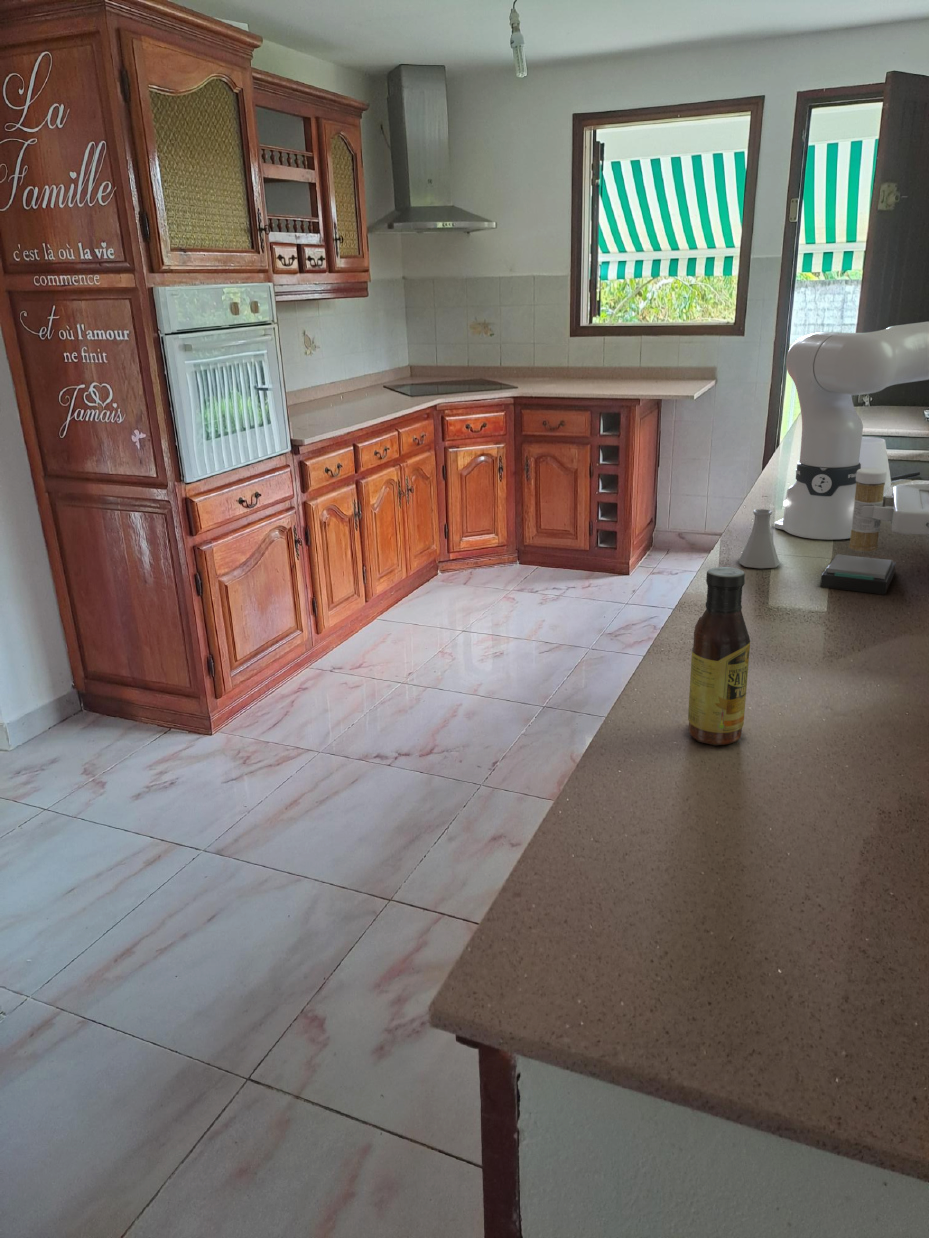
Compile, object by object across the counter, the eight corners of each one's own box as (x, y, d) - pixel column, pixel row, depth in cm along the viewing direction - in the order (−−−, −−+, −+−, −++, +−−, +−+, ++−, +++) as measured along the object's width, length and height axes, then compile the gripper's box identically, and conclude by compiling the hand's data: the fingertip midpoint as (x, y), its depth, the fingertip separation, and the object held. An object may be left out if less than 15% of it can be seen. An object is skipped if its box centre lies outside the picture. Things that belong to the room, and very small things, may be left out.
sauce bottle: (733, 753, 98) (745, 584, 91) (679, 740, 102) (687, 577, 95) (749, 728, 103) (762, 567, 97) (697, 717, 107) (706, 560, 100)
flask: (781, 570, 158) (786, 516, 155) (739, 569, 160) (743, 515, 156) (776, 558, 165) (781, 506, 161) (736, 557, 166) (740, 506, 163)
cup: (893, 496, 206) (901, 436, 201) (884, 508, 196) (892, 446, 191) (832, 491, 213) (838, 433, 208) (820, 503, 202) (826, 442, 198)
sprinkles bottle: (861, 543, 152) (870, 466, 147) (883, 549, 148) (893, 470, 143) (842, 547, 150) (850, 469, 145) (864, 553, 146) (873, 473, 142)
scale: (833, 567, 158) (835, 551, 157) (894, 574, 153) (896, 557, 152) (820, 587, 149) (822, 570, 148) (884, 594, 144) (887, 577, 143)
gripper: (956, 547, 134) (857, 541, 139) (948, 515, 151) (861, 511, 157) (963, 506, 132) (862, 502, 137) (954, 479, 149) (864, 475, 154)
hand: (861, 506), depth 147 cm, fingers closed on sprinkles bottle, 4 cm apart
